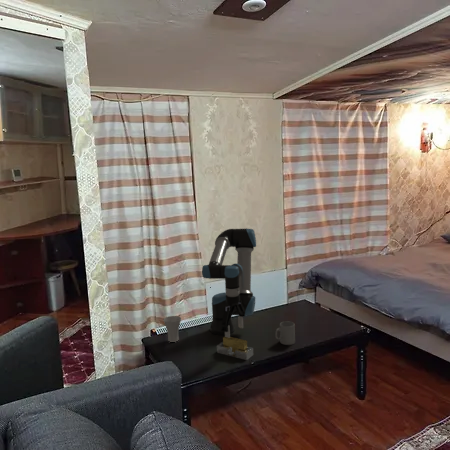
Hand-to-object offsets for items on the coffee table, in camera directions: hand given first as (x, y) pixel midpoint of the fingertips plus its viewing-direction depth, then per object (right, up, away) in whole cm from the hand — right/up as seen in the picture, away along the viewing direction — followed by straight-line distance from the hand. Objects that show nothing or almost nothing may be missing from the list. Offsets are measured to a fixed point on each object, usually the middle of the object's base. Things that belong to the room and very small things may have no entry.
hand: (234, 332), depth 225 cm
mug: (+29, -10, +13) cm, 33 cm away
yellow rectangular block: (+1, -11, +1) cm, 11 cm away
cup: (-36, -11, +22) cm, 43 cm away
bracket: (0, -12, +1) cm, 12 cm away
